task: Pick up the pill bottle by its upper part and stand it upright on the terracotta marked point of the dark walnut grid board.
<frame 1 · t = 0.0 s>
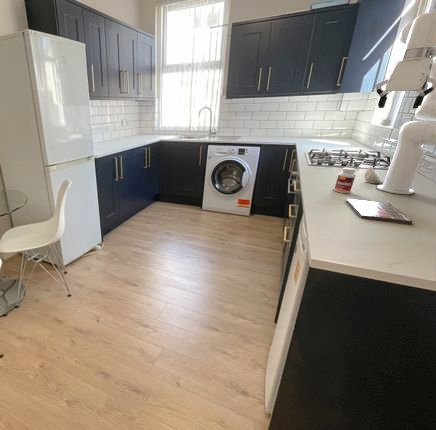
hand: (397, 108, 104), 37 cm above the countertop, tool pointing down, fingers open, 9 cm apart
board: (375, 211, 108), on the countertop
stone: (373, 183, 146), on the countertop
pill bottle: (341, 191, 132), on the countertop
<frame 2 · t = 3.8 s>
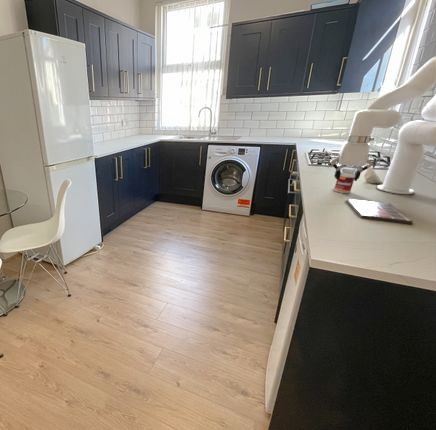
hand: (345, 179, 130), 6 cm above the countertop, tool pointing down, fingers closed on pill bottle, 6 cm apart
pill bottle: (341, 191, 132), on the countertop, touching gripper
everything else where it was.
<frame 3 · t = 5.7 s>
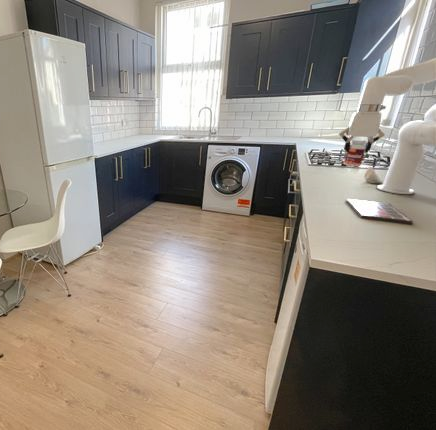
hand: (355, 151, 125), 19 cm above the countertop, tool pointing down, fingers closed on pill bottle, 6 cm apart
pill bottle: (351, 165, 127), point 13 cm above the countertop, touching gripper
everything else where it was.
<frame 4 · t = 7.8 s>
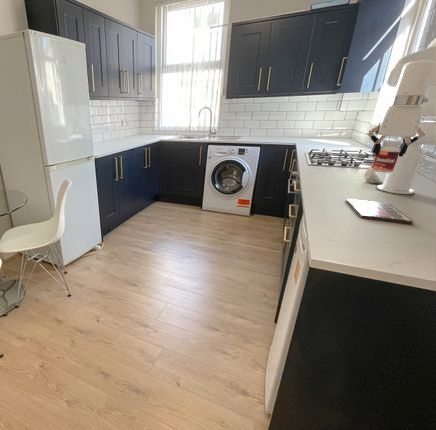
hand: (387, 154, 101), 22 cm above the countertop, tool pointing down, fingers closed on pill bottle, 6 cm apart
pill bottle: (380, 171, 103), point 15 cm above the countertop, touching gripper
everything else where it was.
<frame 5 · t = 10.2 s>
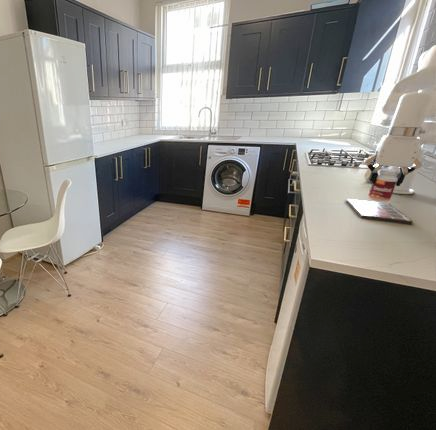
hand: (384, 183, 100), 12 cm above the countertop, tool pointing down, fingers closed on pill bottle, 6 cm apart
pill bottle: (378, 199, 103), point 6 cm above the countertop, touching gripper
everything else where it was.
when the fingers open (7 cm above the countertop, at t = 11.9 s): pill bottle stays where it is, resting on board.
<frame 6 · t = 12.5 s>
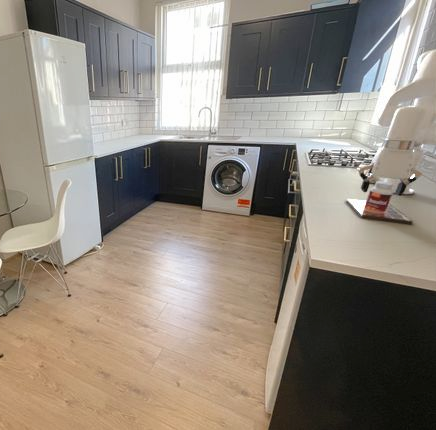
hand: (380, 192, 102), 9 cm above the countertop, tool pointing down, fingers open, 9 cm apart
pill bottle: (373, 211, 105), point 1 cm above the countertop, touching board
everything else where it was.
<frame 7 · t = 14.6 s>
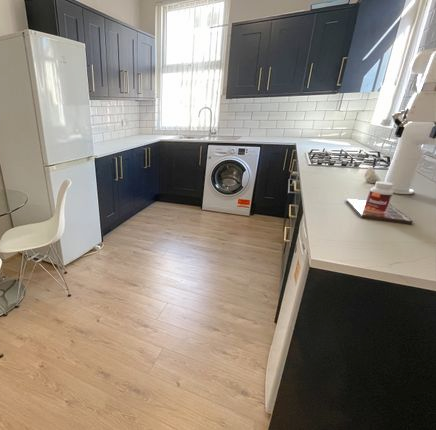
hand: (414, 137, 106), 27 cm above the countertop, tool pointing down, fingers open, 9 cm apart
nothing on the countertop moved.
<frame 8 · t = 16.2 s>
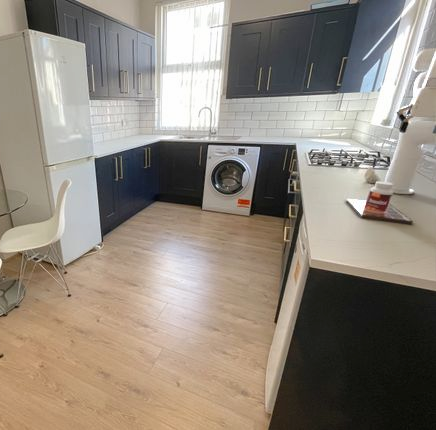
hand: (418, 132, 107), 28 cm above the countertop, tool pointing down, fingers open, 9 cm apart
nothing on the countertop moved.
at the end: pill bottle 0.1 cm from the target spot on the board, point 1.1 cm above the board's base; pill bottle tilted 0°; the gripper is holding nothing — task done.
